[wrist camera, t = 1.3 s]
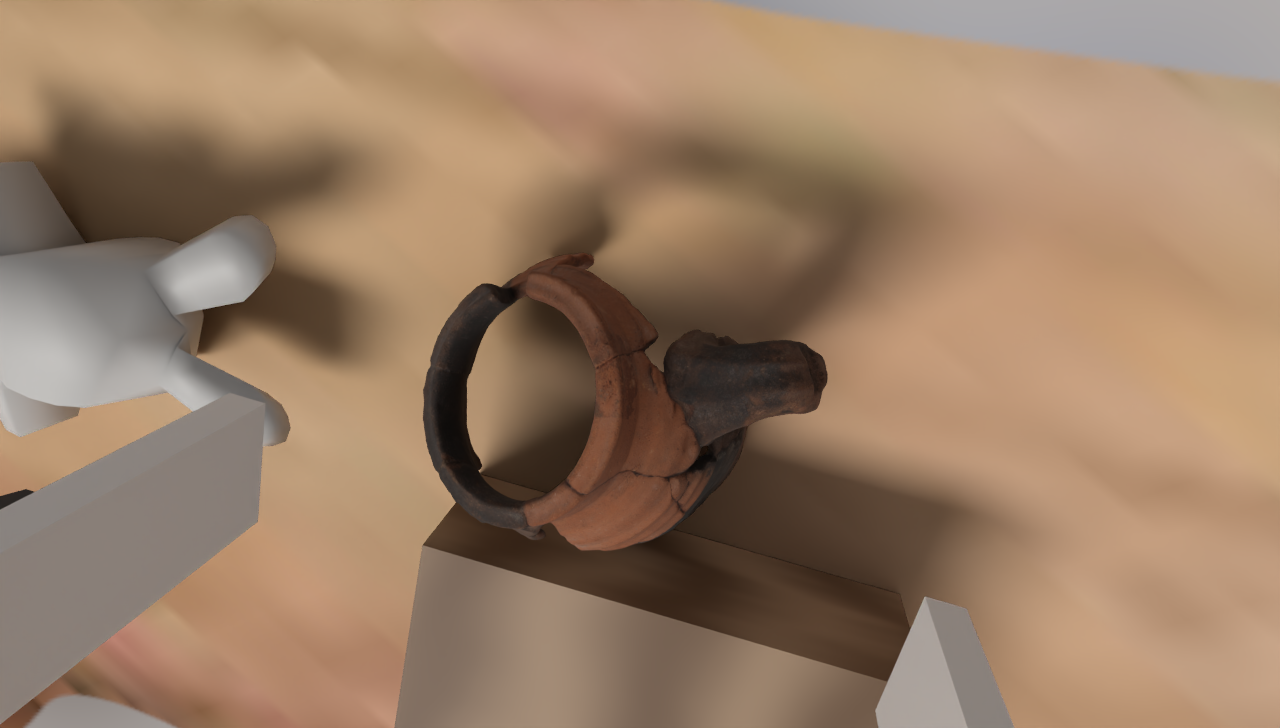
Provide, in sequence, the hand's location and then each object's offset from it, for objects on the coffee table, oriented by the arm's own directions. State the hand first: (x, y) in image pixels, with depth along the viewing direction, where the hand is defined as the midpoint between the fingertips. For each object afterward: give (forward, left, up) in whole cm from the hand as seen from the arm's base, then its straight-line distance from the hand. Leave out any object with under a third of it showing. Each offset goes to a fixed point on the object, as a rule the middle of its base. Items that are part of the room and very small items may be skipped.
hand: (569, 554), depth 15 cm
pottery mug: (0, -1, -12) cm, 12 cm away
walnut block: (+3, -11, -12) cm, 17 cm away
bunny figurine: (-19, -3, -12) cm, 23 cm away
